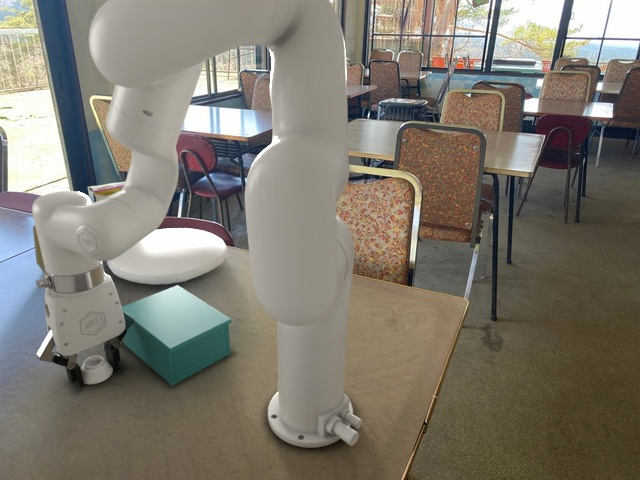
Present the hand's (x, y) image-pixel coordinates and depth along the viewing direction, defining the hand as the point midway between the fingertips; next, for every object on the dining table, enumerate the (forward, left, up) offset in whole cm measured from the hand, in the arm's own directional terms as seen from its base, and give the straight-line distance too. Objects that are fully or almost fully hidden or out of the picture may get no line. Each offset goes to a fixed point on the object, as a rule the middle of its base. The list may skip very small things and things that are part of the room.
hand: (96, 373), depth 78 cm
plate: (+27, -30, -1) cm, 40 cm away
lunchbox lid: (-3, -13, +6) cm, 15 cm away
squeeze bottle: (+41, -10, -1) cm, 42 cm away
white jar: (0, 0, -1) cm, 1 cm away
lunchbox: (-3, -13, 0) cm, 13 cm away
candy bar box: (+45, -27, -1) cm, 52 cm away
